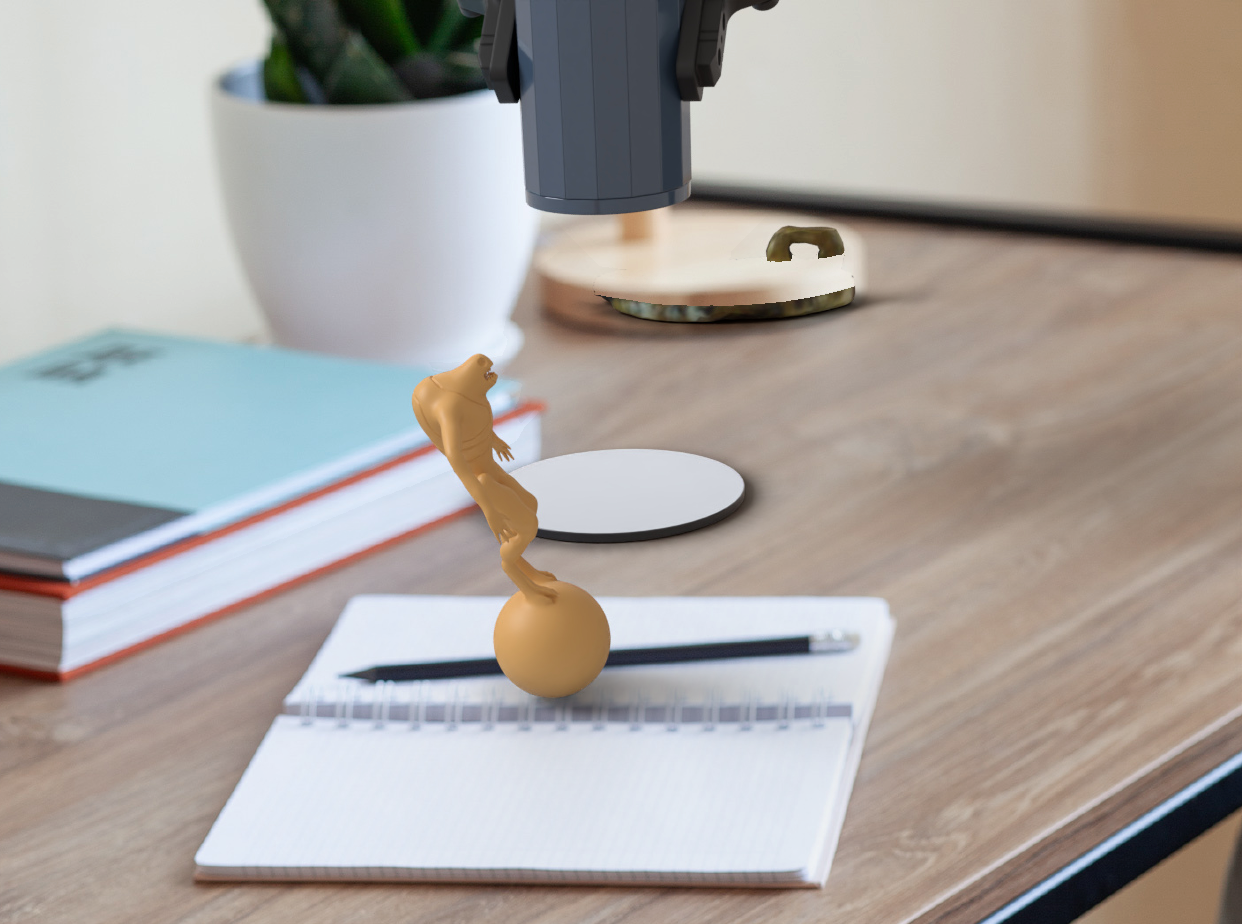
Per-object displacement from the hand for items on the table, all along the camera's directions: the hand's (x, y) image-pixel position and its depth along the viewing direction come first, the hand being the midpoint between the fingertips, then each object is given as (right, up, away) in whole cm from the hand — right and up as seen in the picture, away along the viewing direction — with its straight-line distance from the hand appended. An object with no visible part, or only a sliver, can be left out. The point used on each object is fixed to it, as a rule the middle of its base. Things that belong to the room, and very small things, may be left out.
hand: (595, 89), depth 80 cm
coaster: (+1, -15, +9) cm, 17 cm away
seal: (+8, -1, +39) cm, 39 cm away
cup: (+1, -3, +3) cm, 5 cm away
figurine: (-3, -23, -9) cm, 25 cm away
